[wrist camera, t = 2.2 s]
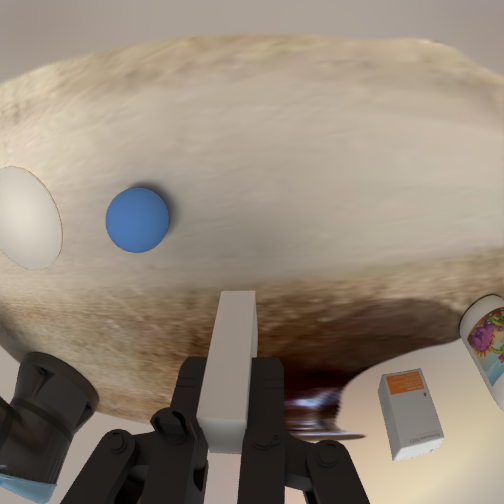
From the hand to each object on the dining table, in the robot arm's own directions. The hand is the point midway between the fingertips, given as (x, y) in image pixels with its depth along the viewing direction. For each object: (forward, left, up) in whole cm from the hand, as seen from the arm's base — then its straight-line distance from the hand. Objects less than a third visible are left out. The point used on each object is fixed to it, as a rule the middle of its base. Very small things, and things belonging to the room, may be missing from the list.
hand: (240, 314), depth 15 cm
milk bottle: (+17, -28, -15) cm, 36 cm away
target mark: (-23, +13, -15) cm, 31 cm away
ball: (-8, +5, -12) cm, 15 cm away
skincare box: (+3, -32, -15) cm, 36 cm away
